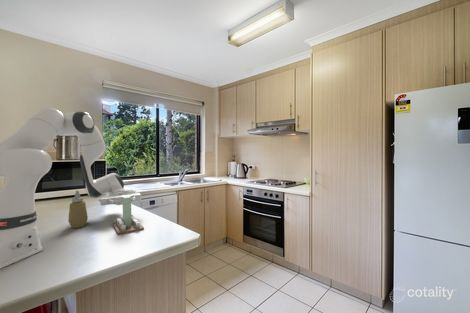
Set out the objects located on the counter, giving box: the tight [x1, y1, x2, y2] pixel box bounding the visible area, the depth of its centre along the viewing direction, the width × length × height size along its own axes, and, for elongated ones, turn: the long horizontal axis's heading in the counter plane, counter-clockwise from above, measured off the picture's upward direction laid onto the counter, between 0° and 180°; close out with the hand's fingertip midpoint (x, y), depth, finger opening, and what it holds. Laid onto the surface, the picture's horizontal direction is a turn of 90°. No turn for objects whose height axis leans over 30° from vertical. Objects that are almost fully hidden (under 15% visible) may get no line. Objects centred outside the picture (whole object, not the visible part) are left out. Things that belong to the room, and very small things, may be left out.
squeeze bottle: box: [67, 190, 89, 229], centre depth 111 cm, size 8×8×18 cm
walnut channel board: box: [111, 214, 145, 236], centre depth 108 cm, size 18×11×4 cm, turn 36°
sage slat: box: [122, 196, 132, 227], centre depth 108 cm, size 5×3×14 cm, turn 36°
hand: (123, 201), depth 116 cm, fingers open, 8 cm apart
